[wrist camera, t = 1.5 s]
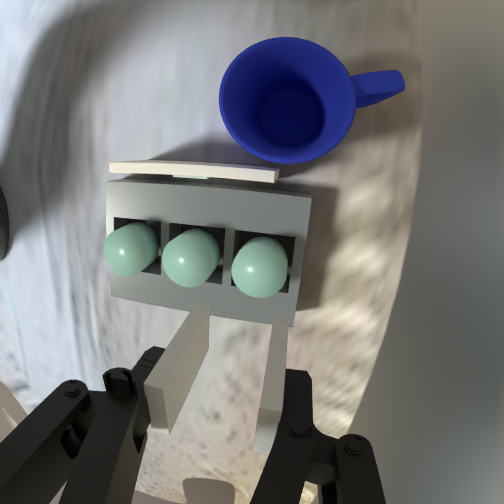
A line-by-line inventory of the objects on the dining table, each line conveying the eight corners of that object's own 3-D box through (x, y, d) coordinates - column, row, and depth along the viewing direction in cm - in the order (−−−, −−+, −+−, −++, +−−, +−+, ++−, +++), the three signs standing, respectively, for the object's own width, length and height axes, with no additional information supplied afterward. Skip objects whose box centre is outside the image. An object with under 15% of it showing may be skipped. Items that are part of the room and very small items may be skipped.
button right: (236, 280, 28) (229, 293, 25) (239, 233, 27) (233, 242, 24) (284, 286, 28) (283, 301, 25) (290, 239, 26) (290, 249, 23)
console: (124, 285, 33) (111, 295, 30) (121, 178, 29) (106, 181, 26) (293, 312, 31) (292, 327, 28) (310, 194, 27) (311, 198, 25)
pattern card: (146, 170, 29) (108, 176, 22) (147, 160, 28) (109, 162, 22) (278, 180, 27) (273, 187, 21) (279, 168, 27) (274, 171, 20)
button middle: (174, 271, 29) (162, 283, 26) (175, 226, 27) (161, 233, 25) (219, 277, 28) (211, 291, 25) (222, 231, 27) (213, 239, 24)
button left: (121, 262, 29) (105, 272, 26) (119, 220, 28) (102, 227, 25) (159, 268, 29) (146, 280, 26) (159, 224, 28) (144, 231, 25)
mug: (383, 144, 25) (427, 138, 16) (257, 172, 27) (238, 179, 18) (359, 61, 23) (387, 19, 14) (234, 89, 25) (203, 57, 16)
